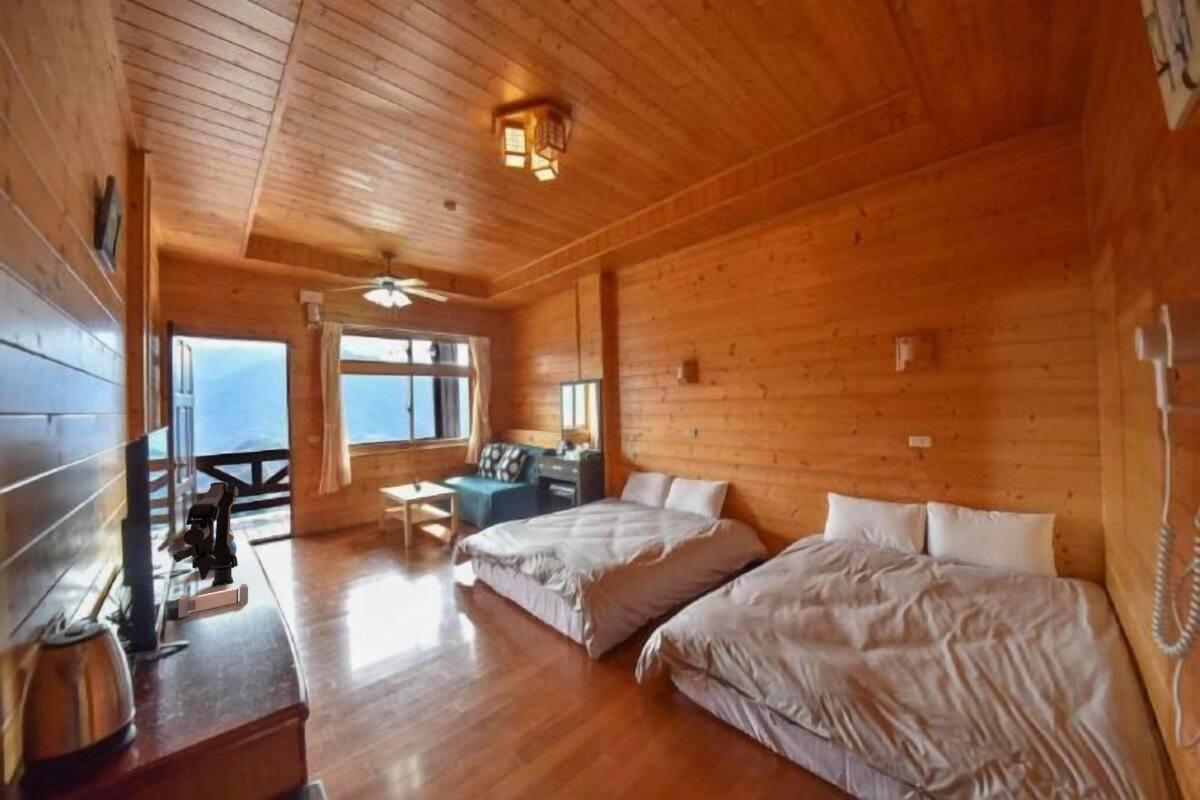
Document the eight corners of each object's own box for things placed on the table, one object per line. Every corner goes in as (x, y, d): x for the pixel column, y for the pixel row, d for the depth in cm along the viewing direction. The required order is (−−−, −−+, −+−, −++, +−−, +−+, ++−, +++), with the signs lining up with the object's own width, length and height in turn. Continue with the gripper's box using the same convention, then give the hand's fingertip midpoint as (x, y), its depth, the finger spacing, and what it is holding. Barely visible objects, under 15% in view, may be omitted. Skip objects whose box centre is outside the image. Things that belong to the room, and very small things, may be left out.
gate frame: (178, 615, 165) (178, 595, 165) (247, 600, 177) (247, 581, 177) (178, 618, 162) (178, 598, 162) (248, 603, 175) (248, 584, 175)
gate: (189, 611, 166) (190, 597, 166) (238, 601, 175) (238, 587, 175) (189, 613, 165) (190, 598, 165) (238, 602, 174) (238, 588, 174)
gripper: (174, 535, 173) (174, 577, 174) (173, 547, 159) (172, 593, 160) (213, 529, 181) (213, 570, 181) (215, 541, 167) (215, 585, 167)
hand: (203, 579), depth 172 cm, fingers closed
